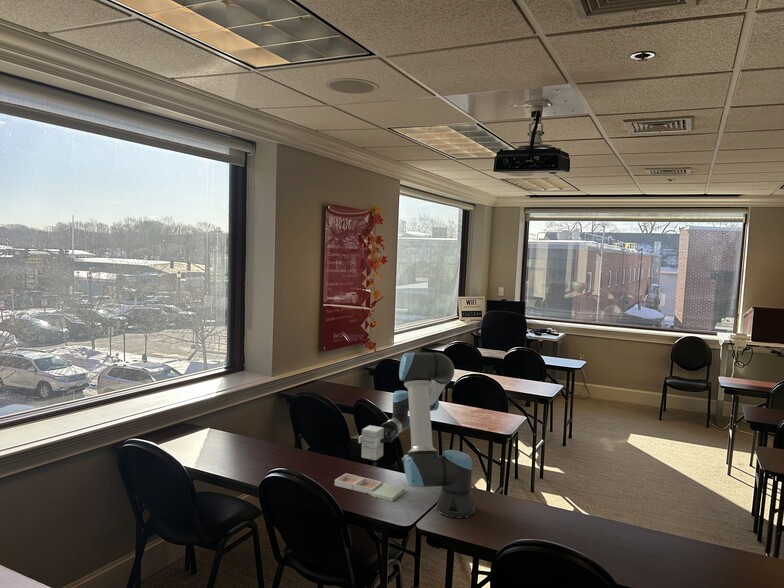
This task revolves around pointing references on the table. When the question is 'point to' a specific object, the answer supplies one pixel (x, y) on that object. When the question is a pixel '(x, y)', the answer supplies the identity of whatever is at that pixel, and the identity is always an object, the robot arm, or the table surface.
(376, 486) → the track
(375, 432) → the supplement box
